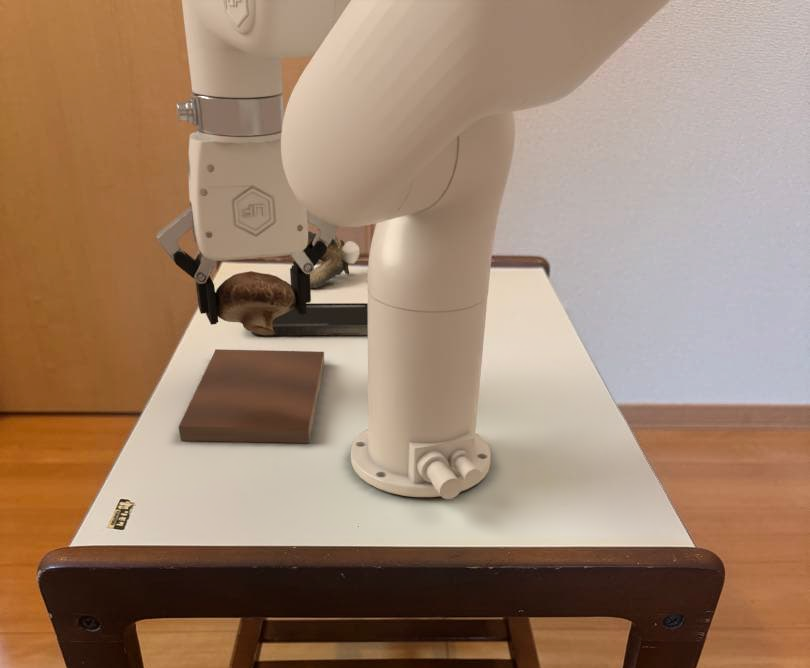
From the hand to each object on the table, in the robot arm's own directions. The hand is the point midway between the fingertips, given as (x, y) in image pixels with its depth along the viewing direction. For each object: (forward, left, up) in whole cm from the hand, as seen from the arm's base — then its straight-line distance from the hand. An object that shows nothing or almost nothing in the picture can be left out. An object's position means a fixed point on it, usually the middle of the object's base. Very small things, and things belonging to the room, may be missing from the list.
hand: (256, 313), depth 78 cm
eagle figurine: (+32, -16, -8) cm, 37 cm away
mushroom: (0, 0, -2) cm, 2 cm away
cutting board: (-2, +1, -8) cm, 8 cm away
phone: (+16, -10, -8) cm, 20 cm away
